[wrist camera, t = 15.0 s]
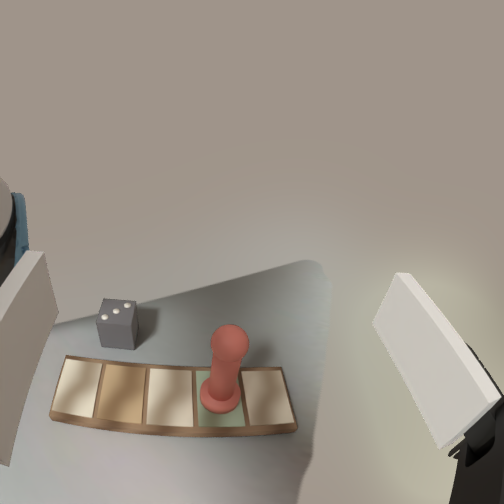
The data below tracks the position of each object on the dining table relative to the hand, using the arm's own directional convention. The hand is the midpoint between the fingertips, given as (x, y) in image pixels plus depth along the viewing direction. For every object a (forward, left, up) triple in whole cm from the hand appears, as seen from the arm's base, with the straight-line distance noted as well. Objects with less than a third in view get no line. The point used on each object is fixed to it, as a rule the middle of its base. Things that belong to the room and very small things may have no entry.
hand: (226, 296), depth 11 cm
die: (-11, +24, -28) cm, 38 cm away
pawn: (+3, +13, -27) cm, 29 cm away
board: (-3, +13, -28) cm, 31 cm away
